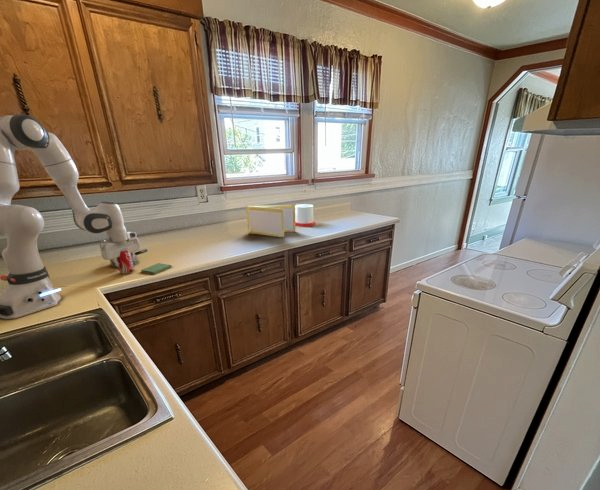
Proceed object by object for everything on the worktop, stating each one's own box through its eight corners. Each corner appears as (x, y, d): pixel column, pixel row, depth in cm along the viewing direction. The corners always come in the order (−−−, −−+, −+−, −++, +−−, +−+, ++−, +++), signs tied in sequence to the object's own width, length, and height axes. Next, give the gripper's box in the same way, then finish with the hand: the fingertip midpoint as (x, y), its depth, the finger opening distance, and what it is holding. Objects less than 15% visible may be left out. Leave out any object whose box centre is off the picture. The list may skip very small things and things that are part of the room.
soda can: (129, 275, 165) (123, 251, 159) (117, 274, 166) (110, 251, 160) (138, 270, 171) (132, 247, 165) (126, 269, 172) (120, 247, 166)
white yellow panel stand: (294, 230, 248) (294, 203, 239) (298, 237, 229) (298, 208, 220) (248, 232, 244) (246, 205, 234) (248, 239, 225) (246, 210, 215)
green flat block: (154, 274, 165) (154, 272, 164) (141, 272, 168) (140, 269, 168) (171, 267, 175) (171, 265, 174) (159, 265, 178) (158, 263, 177)
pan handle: (133, 256, 183) (133, 253, 183) (131, 256, 184) (131, 253, 183) (148, 251, 192) (147, 248, 191) (146, 251, 193) (145, 248, 192)
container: (309, 227, 258) (309, 207, 251) (291, 225, 264) (291, 206, 257) (317, 223, 271) (317, 204, 264) (299, 221, 277) (299, 203, 270)
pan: (123, 269, 172) (121, 261, 170) (106, 266, 177) (103, 258, 175) (142, 262, 183) (141, 254, 181) (126, 259, 188) (124, 251, 185)
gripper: (103, 242, 150) (111, 270, 157) (139, 232, 166) (145, 258, 173) (94, 240, 152) (102, 268, 159) (130, 231, 169) (136, 257, 175)
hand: (125, 263), depth 166 cm, fingers closed on soda can, 7 cm apart
